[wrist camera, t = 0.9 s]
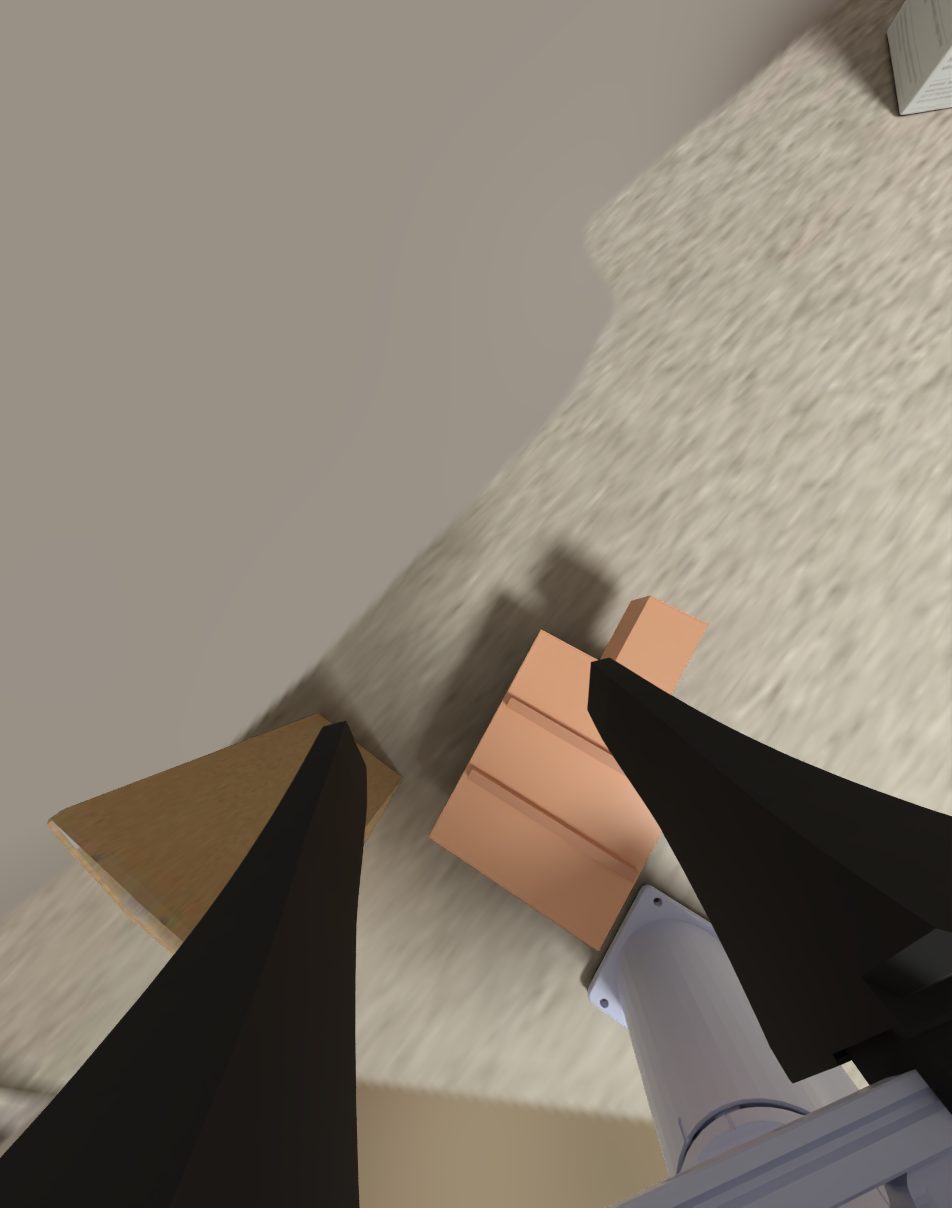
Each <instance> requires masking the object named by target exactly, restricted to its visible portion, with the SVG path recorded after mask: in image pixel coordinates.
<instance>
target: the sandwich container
mask: <svg viewBox="0 0 952 1208" xmlns="http://www.w3.org/2000/svg"><path fill="white" fill-rule="evenodd" d="M327 725H331V723H330V722H329V721H327V720H326V719H325V718H323V717H322V716H321V715H319V714H318V713H316V714H314V715H311V716H308V717H306V718H303V719H301V720H298V721H295V722H293V723H290V724H287V725H285V726H282V727H279V728H277V729H274V730H271V731H269V732H266V733H263V734H261V735H258V736H256V737H253V738H250V739H248V740H245V741H242V742H240V743H237V744H234V745H232V746H229V747H226V748H224V749H221V750H219V751H216V752H214V753H211V754H208V755H205V756H203V757H200V758H198V759H195V760H192V761H190V762H187V763H184V764H182V765H179V766H176V767H174V768H171V769H169V770H166V771H163V772H161V773H158V774H155V775H153V776H150V777H147V778H145V779H142V780H139V781H137V782H134V783H132V784H129V785H126V786H124V787H121V788H118V789H116V790H113V791H110V792H108V793H105V794H102V795H100V796H98V797H95V798H92V799H90V800H87V801H84V802H81V803H79V804H76V805H74V806H71V807H68V808H66V809H64V810H62V811H60V812H59V813H57V814H56V815H54V816H53V817H52V818H50V820H48V823H47V825H48V827H49V828H50V830H51V831H52V833H53V834H54V835H55V836H56V837H57V838H58V839H59V840H60V842H61V843H62V844H63V845H64V846H65V847H66V848H67V849H68V850H69V851H70V853H71V854H72V855H73V856H74V857H75V858H76V859H77V860H78V861H79V862H80V864H81V865H82V866H83V867H84V868H85V869H86V870H87V871H88V872H89V873H90V874H91V876H92V877H93V878H94V879H95V880H96V881H97V882H98V883H99V884H100V885H101V886H102V888H103V889H104V890H105V891H106V892H107V894H108V895H109V896H110V897H111V898H112V899H113V901H114V902H115V903H116V904H117V905H118V906H119V908H120V909H121V910H122V911H123V912H124V913H125V914H126V915H127V916H128V917H129V918H130V919H131V920H132V921H134V922H135V923H136V924H137V925H138V926H140V927H141V928H142V929H143V930H144V931H146V932H147V933H148V934H149V935H150V936H152V937H153V938H154V939H155V940H156V941H157V942H159V943H160V944H161V945H162V946H163V947H165V948H166V949H167V950H168V951H169V952H171V953H172V954H173V955H174V954H175V952H176V951H177V950H178V948H179V947H180V946H181V945H182V943H183V942H184V941H185V939H186V938H187V937H188V935H189V934H190V933H191V932H192V930H193V929H194V928H195V926H196V925H197V924H198V922H199V921H200V920H201V918H202V917H203V916H204V914H205V913H206V912H207V910H208V909H209V908H210V906H211V905H212V903H213V902H214V901H215V899H216V898H217V897H218V895H219V894H220V892H221V891H222V890H223V888H224V887H225V885H226V884H227V883H228V881H229V880H230V878H231V877H232V875H233V874H234V872H235V871H236V870H237V868H238V867H239V865H240V864H241V862H242V861H243V859H244V858H245V856H246V855H247V853H248V852H249V850H250V849H251V847H252V845H253V844H254V842H255V841H256V839H257V838H258V836H259V835H260V833H261V831H262V830H263V828H264V827H265V825H266V824H267V822H268V821H269V819H270V817H271V816H272V814H273V813H274V811H275V809H276V808H277V806H278V804H279V803H280V801H281V799H282V797H283V796H284V794H285V792H286V791H287V789H288V787H289V786H290V784H291V782H292V781H293V779H294V777H295V775H296V774H297V772H298V770H299V768H300V766H301V765H302V763H303V761H304V759H305V757H306V756H307V754H308V752H309V750H310V748H311V747H312V745H313V743H314V741H315V739H316V737H317V736H318V734H319V732H320V730H321V729H322V727H323V726H327ZM356 744H357V746H358V749H359V751H360V753H361V755H362V758H363V760H364V762H365V764H366V767H367V814H366V824H365V835H364V843H365V841H366V840H367V839H368V837H369V835H370V834H371V832H372V830H373V828H374V827H375V825H376V823H377V822H378V820H379V818H380V816H381V815H382V813H383V811H384V810H385V808H386V806H387V804H388V803H389V801H390V799H391V798H392V796H393V794H394V793H395V791H396V789H397V787H398V786H399V784H400V782H401V781H402V777H401V776H400V775H398V774H397V773H396V772H394V771H393V770H392V769H390V768H389V767H388V766H387V765H385V764H384V763H383V762H381V761H380V760H379V759H377V758H376V757H375V756H373V755H372V754H371V753H370V752H368V751H367V750H366V749H364V748H363V747H362V746H360V745H359V744H358V743H356Z"/></svg>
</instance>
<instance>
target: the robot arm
mask: <svg viewBox="0 0 952 1208" xmlns="http://www.w3.org/2000/svg"><path fill="white" fill-rule="evenodd" d="M587 710H588V712H589V714H590V717H591V719H592V721H593V723H594V725H595V727H596V729H597V731H598V732H599V734H600V736H601V738H602V740H603V742H604V743H605V745H606V746H607V748H608V749H609V751H610V753H611V754H612V756H613V757H614V759H615V760H616V762H617V763H618V765H619V766H620V768H621V769H622V771H623V772H624V774H625V775H626V777H627V778H628V780H629V781H630V783H631V784H632V786H633V787H634V789H635V790H636V792H637V793H638V795H639V796H640V798H641V799H642V801H643V802H644V804H645V805H646V807H647V808H648V810H649V811H650V813H651V814H652V816H653V817H654V819H655V821H656V822H657V824H658V825H659V827H660V829H661V830H662V832H663V834H664V836H665V838H666V839H667V841H668V843H669V845H670V847H671V849H672V850H673V852H674V854H675V856H676V858H677V859H678V861H679V863H680V865H681V867H682V869H683V870H684V872H685V874H686V876H687V878H688V880H689V882H690V884H691V886H692V888H693V889H694V891H695V893H696V895H697V897H698V899H699V901H700V903H701V905H702V906H703V908H704V910H705V912H706V914H707V916H708V918H709V920H710V922H711V923H710V922H708V921H707V920H705V919H704V918H702V917H700V916H699V915H697V914H696V913H694V912H692V911H691V910H689V909H688V908H686V907H684V906H683V905H681V904H680V903H678V902H677V901H675V900H673V899H672V898H670V897H669V896H667V895H665V894H664V893H662V892H661V891H659V890H657V889H656V888H654V887H653V886H650V885H644V886H642V888H641V889H640V891H639V893H638V895H637V897H636V898H635V900H634V902H633V904H632V906H631V908H630V910H629V912H628V913H627V915H626V917H625V919H624V921H623V923H622V925H621V927H620V929H619V930H618V932H617V934H616V936H615V938H614V940H613V942H612V944H611V945H610V947H609V949H608V951H607V953H606V955H605V957H604V959H603V961H602V962H601V964H600V966H599V968H598V970H597V972H596V974H595V976H594V977H593V979H592V981H591V983H590V985H589V987H588V990H587V991H588V997H589V1000H590V1002H591V1003H592V1004H593V1005H594V1006H596V1007H597V1008H599V1009H600V1010H601V1011H603V1012H604V1013H606V1014H607V1015H609V1016H610V1017H611V1018H613V1019H614V1020H616V1021H617V1022H619V1023H620V1024H621V1025H623V1026H624V1027H626V1028H627V1029H628V1030H629V1034H630V1038H631V1041H632V1045H633V1048H634V1052H635V1056H636V1059H637V1063H638V1067H639V1070H640V1074H641V1077H642V1081H643V1085H644V1088H645V1092H646V1096H647V1099H648V1103H649V1106H650V1110H651V1114H652V1117H653V1121H654V1125H655V1128H656V1131H657V1135H658V1139H659V1143H660V1146H661V1150H662V1154H663V1157H664V1161H665V1164H666V1168H667V1172H668V1175H669V1178H667V1179H665V1180H663V1181H661V1182H659V1183H657V1184H654V1185H652V1186H650V1187H648V1188H646V1189H644V1190H641V1191H639V1192H637V1193H635V1194H633V1195H630V1196H629V1197H626V1198H624V1199H622V1200H620V1201H617V1202H615V1203H613V1204H611V1205H609V1206H607V1207H604V1208H952V816H949V815H946V814H943V813H939V812H936V811H933V810H930V809H927V808H924V807H921V806H918V805H915V804H913V803H910V802H907V801H904V800H901V799H899V798H896V797H893V796H890V795H887V794H885V793H882V792H879V791H876V790H873V789H871V788H868V787H865V786H863V785H860V784H857V783H855V782H852V781H850V780H847V779H844V778H842V777H839V776H837V775H834V774H832V773H829V772H827V771H825V770H822V769H820V768H817V767H815V766H812V765H810V764H807V763H805V762H803V761H800V760H798V759H796V758H793V757H791V756H789V755H786V754H784V753H782V752H780V751H777V750H775V749H773V748H771V747H769V746H767V745H765V744H763V743H760V742H758V741H756V740H754V739H752V738H750V737H748V736H746V735H744V734H742V733H740V732H738V731H736V730H734V729H732V728H730V727H728V726H726V725H724V724H722V723H720V722H718V721H716V720H715V719H713V718H711V717H709V716H707V715H705V714H703V713H701V712H700V711H698V710H696V709H694V708H693V707H691V706H689V705H687V704H686V703H684V702H682V701H680V700H679V699H677V698H675V697H674V696H672V695H670V694H669V693H667V692H665V691H664V690H662V689H660V688H659V687H657V686H655V685H654V684H652V683H650V682H649V681H647V680H646V679H644V678H642V677H641V676H639V675H638V674H636V673H634V672H633V671H631V670H630V669H628V668H626V667H625V666H623V665H621V664H620V663H618V662H617V661H615V660H613V659H612V658H610V657H609V658H605V659H601V660H597V661H593V662H591V667H590V679H589V692H588V705H587ZM366 814H367V767H366V764H365V762H364V760H363V758H362V755H361V753H360V751H359V749H358V746H357V744H356V742H355V740H354V737H353V735H352V733H351V731H350V729H349V726H348V724H347V722H346V721H344V722H339V723H335V724H331V725H327V726H323V727H322V729H321V730H320V732H319V734H318V736H317V737H316V739H315V741H314V743H313V745H312V747H311V748H310V750H309V752H308V754H307V756H306V757H305V759H304V761H303V763H302V765H301V766H300V768H299V770H298V772H297V774H296V775H295V777H294V779H293V781H292V782H291V784H290V786H289V787H288V789H287V791H286V792H285V794H284V796H283V797H282V799H281V801H280V803H279V804H278V806H277V808H276V809H275V811H274V813H273V814H272V816H271V817H270V819H269V821H268V822H267V824H266V825H265V827H264V828H263V830H262V831H261V833H260V835H259V836H258V838H257V839H256V841H255V842H254V844H253V845H252V847H251V849H250V850H249V852H248V853H247V855H246V856H245V858H244V859H243V861H242V862H241V864H240V865H239V867H238V868H237V870H236V871H235V872H234V874H233V875H232V877H231V878H230V880H229V881H228V883H227V884H226V885H225V887H224V888H223V890H222V891H221V892H220V894H219V895H218V897H217V898H216V899H215V901H214V902H213V903H212V905H211V906H210V908H209V909H208V910H207V912H206V913H205V914H204V916H203V917H202V918H201V920H200V921H199V922H198V924H197V925H196V926H195V928H194V929H193V930H192V932H191V933H190V934H189V935H188V937H187V938H186V939H185V941H184V942H183V943H182V945H181V946H180V947H179V948H178V950H177V951H176V952H175V954H174V955H173V956H172V958H171V959H170V960H169V961H168V963H167V964H166V965H165V967H164V968H163V969H162V970H161V972H160V973H159V974H158V975H157V977H156V978H155V979H154V980H153V982H152V983H151V984H150V985H149V987H148V988H147V989H146V990H145V991H144V993H143V994H142V995H141V996H140V998H139V999H138V1000H137V1001H136V1002H135V1004H134V1005H133V1006H132V1007H131V1008H130V1010H129V1011H128V1012H127V1013H126V1014H125V1015H124V1017H123V1018H122V1019H121V1020H120V1021H119V1023H118V1024H117V1025H116V1026H115V1027H114V1029H113V1030H112V1031H111V1032H110V1033H109V1034H108V1036H107V1037H106V1038H105V1039H104V1040H103V1042H102V1043H101V1044H100V1045H99V1046H98V1047H97V1049H96V1050H95V1051H94V1052H93V1053H92V1055H91V1056H90V1057H89V1058H88V1059H87V1061H86V1062H85V1063H84V1064H83V1065H82V1066H81V1068H80V1069H79V1070H78V1071H77V1072H76V1074H75V1075H74V1076H73V1077H72V1078H71V1079H70V1080H69V1082H68V1083H67V1084H66V1085H65V1086H64V1087H63V1089H62V1090H61V1091H60V1092H59V1093H58V1094H57V1095H56V1097H55V1098H54V1099H53V1100H52V1101H51V1102H50V1103H49V1105H48V1106H47V1107H46V1108H45V1109H44V1110H43V1111H42V1112H41V1114H40V1115H39V1116H38V1117H37V1118H36V1119H35V1120H34V1121H33V1122H32V1123H31V1125H30V1126H29V1127H28V1128H27V1129H26V1130H25V1131H24V1132H23V1133H22V1135H21V1136H20V1137H19V1138H18V1139H17V1140H16V1141H15V1142H14V1143H13V1145H12V1146H11V1147H10V1148H9V1149H8V1150H7V1151H6V1152H5V1153H4V1154H3V1156H2V1157H1V1158H0V1208H359V1186H358V1155H357V1154H358V1153H357V1117H356V1054H355V973H356V923H357V907H358V895H359V885H360V875H361V865H362V855H363V845H364V835H365V824H366ZM655 898H660V900H659V901H658V902H655V901H654V899H655ZM601 999H607V1000H606V1001H601ZM851 1060H852V1061H853V1063H854V1064H855V1065H856V1067H857V1068H858V1070H859V1071H860V1072H861V1074H862V1075H863V1077H864V1078H865V1080H866V1081H867V1082H868V1084H869V1085H870V1086H867V1087H865V1088H863V1089H861V1090H859V1089H858V1088H857V1086H856V1085H855V1084H854V1082H853V1081H852V1080H851V1078H850V1077H849V1076H848V1074H847V1073H846V1072H845V1070H844V1069H843V1068H842V1066H841V1065H842V1064H844V1063H846V1062H849V1061H851Z"/></svg>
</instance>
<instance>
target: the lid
mask: <svg viewBox="0 0 952 1208" xmlns="http://www.w3.org/2000/svg"><path fill="white" fill-rule="evenodd" d="M708 625H709V624H707V623H705V622H703V621H701V620H699V619H697V618H695V617H693V616H691V615H689V614H687V613H685V612H683V611H681V610H679V609H677V608H675V607H673V606H671V605H669V604H667V603H665V602H663V601H661V600H659V599H657V598H655V597H653V596H651V595H650V596H647V597H643V598H640V599H636V600H633V601H631V602H630V604H629V606H628V608H627V610H626V611H625V613H624V615H623V617H622V619H621V621H620V623H619V624H618V626H617V628H616V630H615V632H614V634H613V636H612V637H611V639H610V641H609V643H608V645H607V647H606V649H605V650H604V652H603V654H602V656H601V658H600V660H601V659H605V658H609V657H610V658H612V659H613V660H615V661H617V662H618V663H620V664H621V665H623V666H625V667H626V668H628V669H630V670H631V671H633V672H634V673H636V674H638V675H639V676H641V677H642V678H644V679H646V680H647V681H649V682H650V683H652V684H654V685H655V686H657V687H659V688H660V689H662V690H664V691H665V692H667V693H669V694H670V695H671V694H672V692H673V690H674V688H675V687H676V685H677V683H678V681H679V679H680V677H681V675H682V673H683V672H684V670H685V668H686V666H687V664H688V662H689V660H690V658H691V657H692V655H693V653H694V651H695V649H696V647H697V645H698V643H699V642H700V640H701V638H702V636H703V634H704V632H705V630H706V628H707V627H708ZM593 661H597V659H595V658H593V657H591V656H589V655H588V654H586V653H584V652H582V651H580V650H578V649H576V648H575V647H573V646H571V645H569V644H567V643H565V642H563V641H562V640H560V639H558V638H556V637H554V636H552V635H550V634H549V633H547V632H545V631H543V630H540V631H539V633H538V635H537V637H536V639H535V641H534V642H533V644H532V646H531V648H530V650H529V652H528V654H527V655H526V657H525V659H524V661H523V663H522V665H521V666H520V668H519V670H518V672H517V674H516V676H515V678H514V679H513V681H512V683H511V685H510V687H509V689H508V690H507V692H506V694H505V696H504V698H503V700H502V702H501V703H500V705H499V707H498V709H497V711H496V713H495V714H494V716H493V718H492V720H491V722H490V724H489V726H488V727H487V729H486V731H485V733H484V735H483V737H482V738H481V740H480V742H479V744H478V746H477V748H476V750H475V751H474V753H473V755H472V757H471V759H470V761H469V762H468V764H467V766H466V768H465V770H464V772H463V774H462V775H461V777H460V779H459V781H458V783H457V785H456V786H455V788H454V790H453V792H452V794H451V796H450V798H449V799H448V801H447V803H446V805H445V807H444V809H443V811H442V812H441V814H440V816H439V818H438V820H437V822H436V823H435V825H434V827H433V829H432V831H431V833H430V835H429V838H430V839H432V840H433V841H435V842H436V843H438V844H439V845H441V846H442V847H444V848H445V849H447V850H448V851H450V852H451V853H453V854H454V855H456V856H457V857H459V858H460V859H462V860H463V861H465V862H466V863H468V864H469V865H470V866H472V867H473V868H475V869H476V870H478V871H479V872H481V873H482V874H484V875H485V876H487V877H488V878H490V879H491V880H493V881H494V882H496V883H497V884H499V885H500V886H502V887H503V888H505V889H506V890H508V891H509V892H511V893H512V894H514V895H515V896H517V897H518V898H520V899H521V900H522V901H524V902H525V903H527V904H528V905H530V906H531V907H533V908H534V909H536V910H537V911H539V912H540V913H542V914H543V915H545V916H546V917H548V918H549V919H551V920H552V921H554V922H555V923H557V924H558V925H560V926H561V927H563V928H564V929H566V930H567V931H569V932H570V933H572V934H573V935H575V936H576V937H577V938H579V939H580V940H582V941H583V942H585V943H586V944H588V945H589V946H591V947H592V948H594V949H595V950H597V951H598V952H599V950H600V948H601V946H602V944H603V942H604V940H605V939H606V937H607V935H608V933H609V931H610V929H611V927H612V925H613V924H614V922H615V920H616V918H617V916H618V914H619V912H620V910H621V909H622V907H623V905H624V903H625V901H626V899H627V897H628V895H629V893H630V892H631V890H632V888H633V886H634V884H635V882H636V880H637V878H638V877H639V875H640V873H641V871H642V869H643V867H644V865H645V863H646V861H647V860H648V858H649V856H650V854H651V852H652V850H653V848H654V846H655V845H656V843H657V841H658V839H659V837H660V835H661V833H662V830H661V829H660V827H659V825H658V824H657V822H656V821H655V819H654V817H653V816H652V814H651V813H650V811H649V810H648V808H647V807H646V805H645V804H644V802H643V801H642V799H641V798H640V796H639V795H638V793H637V792H636V790H635V789H634V787H633V786H632V784H631V783H630V781H629V780H628V778H627V777H626V775H625V774H624V772H623V771H622V769H621V768H620V766H619V765H618V763H617V762H616V760H615V759H614V757H613V756H612V754H611V753H610V751H609V749H608V748H607V746H606V745H605V743H604V742H603V740H602V738H601V736H600V734H599V732H598V731H597V729H596V727H595V725H594V723H593V721H592V719H591V717H590V714H589V712H588V710H587V705H588V692H589V679H590V667H591V662H593Z"/></svg>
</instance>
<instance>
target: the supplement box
mask: <svg viewBox="0 0 952 1208" xmlns="http://www.w3.org/2000/svg"><path fill="white" fill-rule="evenodd" d="M887 36H888V41H889V47H890V53H891V60H892V66H893V72H894V79H895V86H896V93H897V99H898V105H899V112H900V115H906V114H913V113H919V112H926V111H931V110H937V109H945V108H950V107H952V0H905V2H904V3H903V5H902V7H901V9H900V10H899V12H898V13H897V15H896V17H895V18H894V20H893V21H892V23H891V25H890V26H889V28H888V30H887Z"/></svg>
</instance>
